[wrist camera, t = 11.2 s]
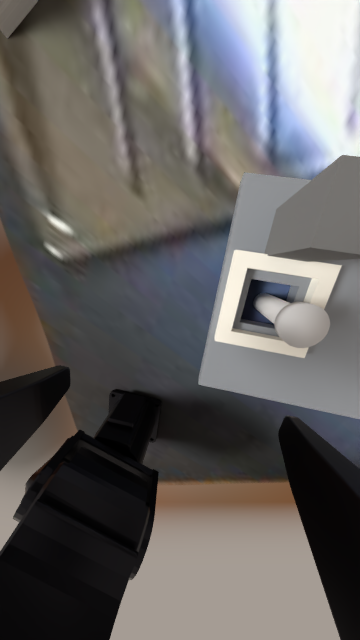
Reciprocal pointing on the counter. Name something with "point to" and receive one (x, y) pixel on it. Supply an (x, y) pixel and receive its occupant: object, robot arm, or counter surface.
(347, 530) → the robot arm
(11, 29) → the white gabled carton
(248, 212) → the hook board
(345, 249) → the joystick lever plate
